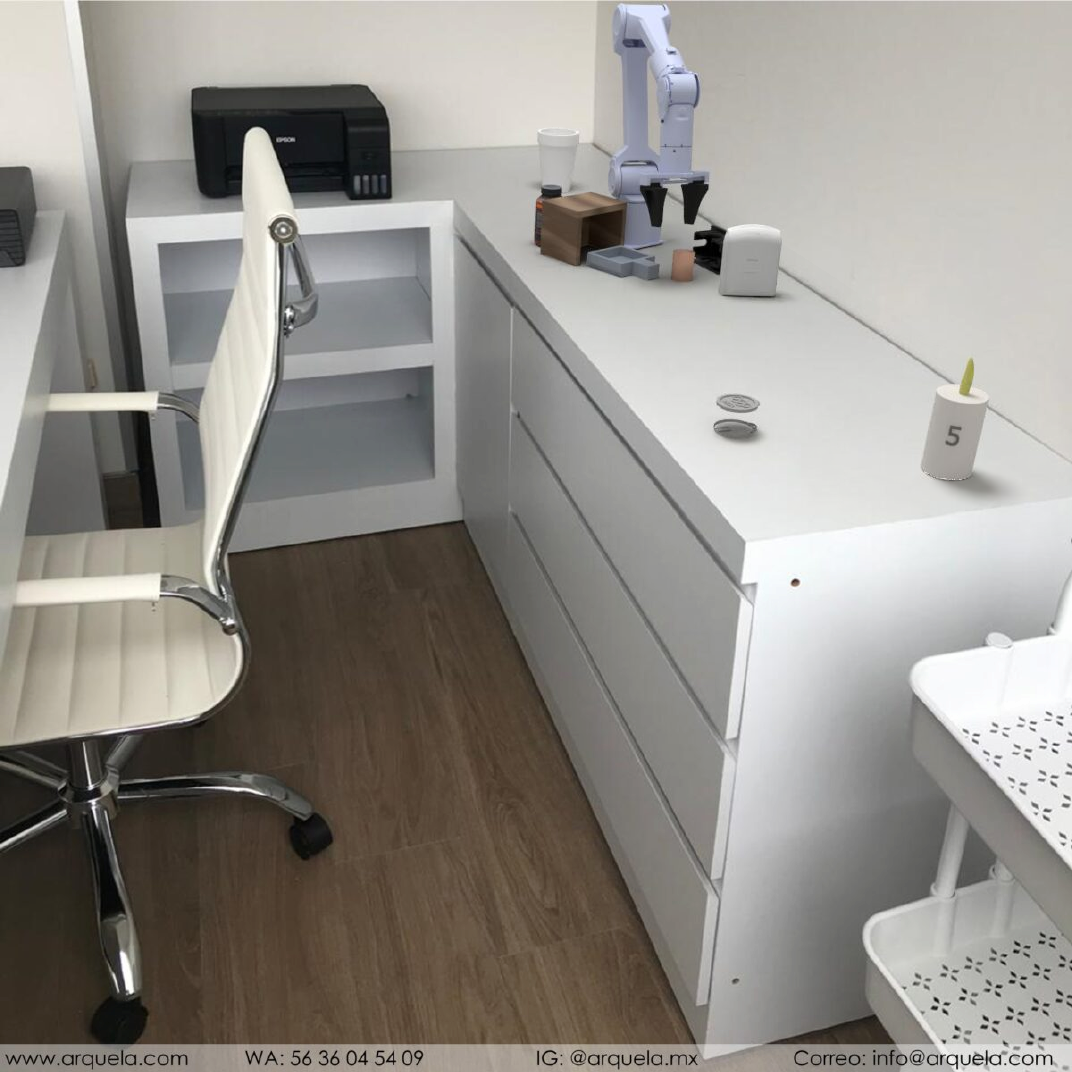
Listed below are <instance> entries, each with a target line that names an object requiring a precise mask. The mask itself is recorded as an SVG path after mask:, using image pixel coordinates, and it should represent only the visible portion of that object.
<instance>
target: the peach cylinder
mask: <svg viewBox="0 0 1072 1072" xmlns="http://www.w3.org/2000/svg"><path fill="white" fill-rule="evenodd" d="M694 259H696V258H695V252H694V251H693V249H688V248H677V249H674V250H673V252H672V261H671V269H670V270H671V273H670V280H672V281H674V282H679V283H687V282H688V283H689V282H692V281H693V275H694V267H695V263H694Z"/></svg>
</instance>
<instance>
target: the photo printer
mask: <svg viewBox="0 0 1072 1072" xmlns="http://www.w3.org/2000/svg"><path fill="white" fill-rule="evenodd" d="M726 230H727V231H726V235H725V237H724V242H723V251H722V261H721V271H720V275H719V284H718V293H719V294H720V295H721V296H747V297H748V296H750V297H755V296H756V297H759V296H760V297H774V296H775V295H776V293H777V291H776V290H777V284H778V276H779V268H780V261H781V260H780V259H781V252H782V244H783V243H782V241H783V240H782V234H781V231H780V230H779V229H778V228H775V227H772V226H768V225H764V224H756V223H752V224H750V223H749V224H739V225H735V226H732V227H729V228H727V229H726Z"/></svg>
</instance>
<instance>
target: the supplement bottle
mask: <svg viewBox="0 0 1072 1072" xmlns="http://www.w3.org/2000/svg"><path fill="white" fill-rule="evenodd" d="M540 189H541V190H540V193H541V195H539V196H538V197H537V198H536V200H535V210H534V211H535V212H534V213H535V214H534V216H535V217H534V219H535V220H534V236H533V237H534V243H535V244H536V245H537V246H540V247H541V224H542V200H548V199H553V198H559V197H563V196H562V194H563V193H562V187H561V186H559V185H543V186H542V185H541V188H540Z"/></svg>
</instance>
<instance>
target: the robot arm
mask: <svg viewBox="0 0 1072 1072" xmlns="http://www.w3.org/2000/svg"><path fill="white" fill-rule="evenodd" d="M671 15H672V14H671V11H670V8H669V7H668V5H667V4H664V3H662V4H627V3H626V4H624V3H622V2H621V3H619V4H617V6H616V7H615V9H614V12H613V18H612V21H611V22H612V24H611V25H612V27H611V28H612V46H613V53H615V54H617V55H618V56H620V59H621V70H622V71H621V72H622V73H621V74H622V75H621V76H622V124H623V125H622V127H623V128H622V129H623V130H622V131H623V135H622V136H623V146H622V147H621V148H620V149H619V150H618V151H617V152H615V153H614V154H613V155H612V156H611V158H610V160H609V169H608V170H609V171H608V177H607V184H608V191H609V193H610V195H611V196H612V198H614V199H618V200H621V201H625V202H627V214H626V227H625V241H624V246H626V247H629V248H632V249H635V250H638V249H641V248H646V247H647V248H648V247H651V246H656V245H659V244H663V243H664V240H663V239H661V236H662V235H661V233H662V226H663V220H664V219H663V216H664V206H665V200H666V197H667V194H668V191H669V188H668V187H663V186H664V185H672V184H673V185H674V184H680V188H681V193H682V200H683V223H684V225H690V226H694V225H695V223H696V219H697V215H698V212H699V209H700V207H701V204H702V202H703V200H704V198H705V196H706V194H707V193H708V191H709V188H710V184H709V183H710V174H711V173H710V171H709V170H692V165H693V164H692V162H693V160H692V159H693V140H694V139H693V138H694V122H695V121H694V118H695V109H696V108H697V107H698V105H699V103H700V99H701V98H700V97H701V81H700V77H699V75H698V73H696V72H693V71H689V70H688V69H687V66H686V64H685V61H684V59H683V57H682V55H681V53H680V51H679V49H677V48H676V47H675V46H671V43H670V39H669V34H670V30H671V26H672V25H671V24H672V18H671ZM649 58H650V60H649ZM648 60H649V68H650V71H651V73H652V75H653V77H654V81H655V83H656V86H657V88H656V102H657V107H658V108H657V109H658V110H657V111H658V114H657V115H658V118H659V119H660V129H659V130H660V136H659V137H660V139H659V154H658V153H657V152H655V151H654V149H652V148H651V147H650V146H649V116H648V115H649V112H648V111H649V109H648V108H649V105H648V103H649V102H648V100H649V99H648V98H649V96H648ZM625 163H626V164H625ZM636 163H637V164H636ZM670 179H673V180H670ZM674 179H676V180H674Z"/></svg>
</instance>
